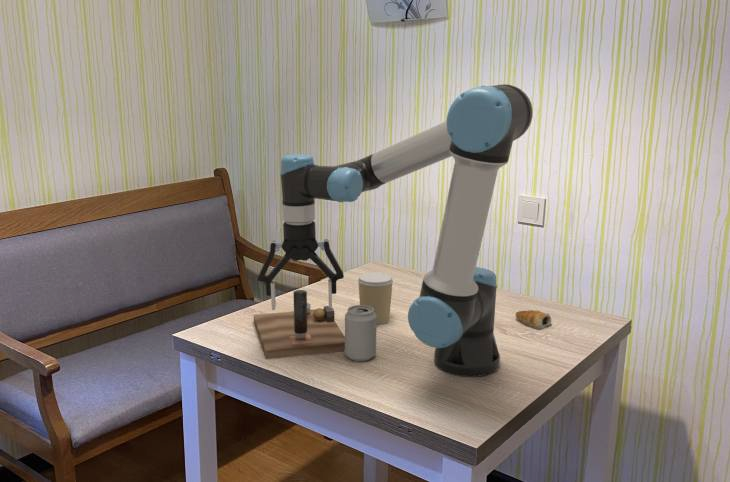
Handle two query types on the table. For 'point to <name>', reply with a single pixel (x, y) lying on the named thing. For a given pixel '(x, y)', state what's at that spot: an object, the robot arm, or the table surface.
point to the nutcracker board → (282, 338)
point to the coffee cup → (376, 293)
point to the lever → (300, 313)
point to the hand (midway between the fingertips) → (302, 307)
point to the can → (360, 333)
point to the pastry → (534, 319)
